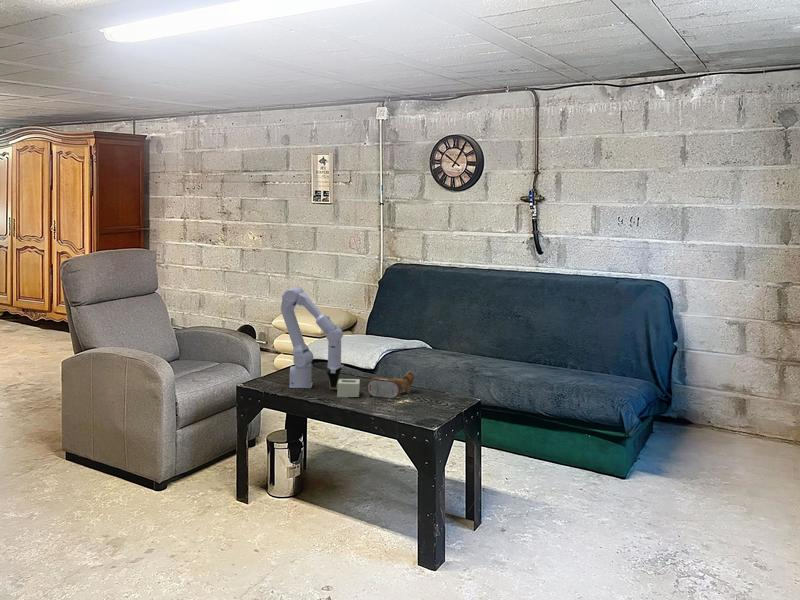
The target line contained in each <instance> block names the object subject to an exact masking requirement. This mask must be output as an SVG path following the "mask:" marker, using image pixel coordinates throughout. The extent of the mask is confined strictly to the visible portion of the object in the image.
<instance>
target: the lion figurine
mask: <svg viewBox="0 0 800 600" xmlns="http://www.w3.org/2000/svg"><path fill="white" fill-rule="evenodd" d="M394 379H395V380H397V381H398V382H399V383H400V384H401V387H402V392H403V393H407V394H411V391H410V388H411V386H412V385H413V384H414V381H415V374H414V372H413V371H409V370H408V372H406V373H405V375H404V377H402V378H394Z"/></svg>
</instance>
